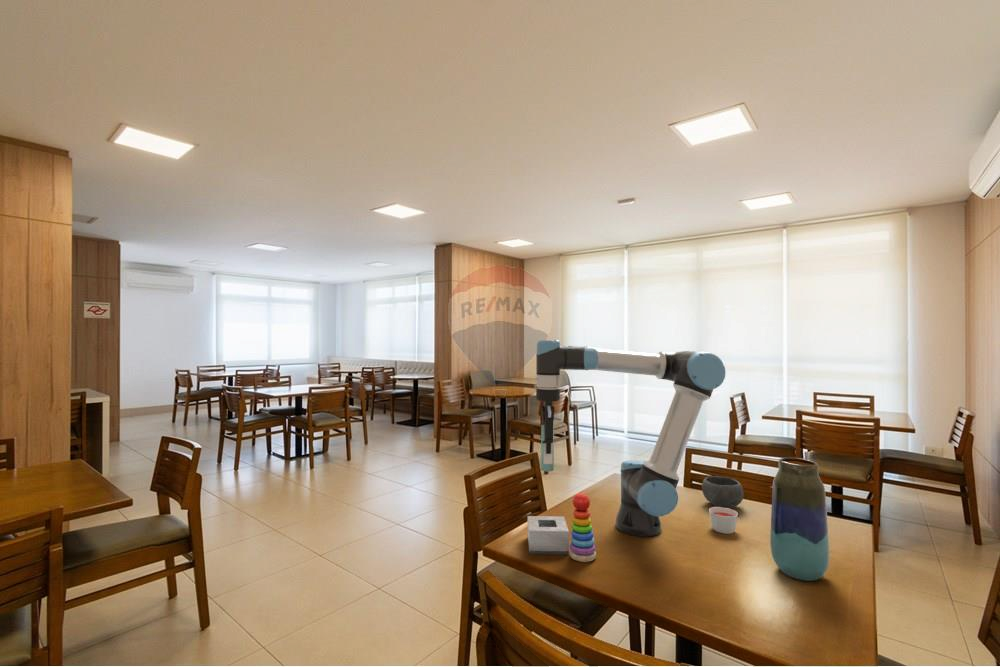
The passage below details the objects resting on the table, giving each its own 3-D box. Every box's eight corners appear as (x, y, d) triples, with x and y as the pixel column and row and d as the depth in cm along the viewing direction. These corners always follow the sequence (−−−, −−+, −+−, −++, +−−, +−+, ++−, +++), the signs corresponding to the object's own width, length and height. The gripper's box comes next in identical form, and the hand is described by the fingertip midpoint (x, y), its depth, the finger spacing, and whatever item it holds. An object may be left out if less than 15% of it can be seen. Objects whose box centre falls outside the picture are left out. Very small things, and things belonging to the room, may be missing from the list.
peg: (540, 467, 147) (540, 424, 148) (552, 468, 147) (553, 424, 148) (541, 471, 143) (541, 426, 144) (554, 471, 143) (554, 426, 144)
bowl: (751, 512, 174) (751, 486, 174) (712, 512, 174) (712, 486, 174) (732, 499, 189) (732, 475, 189) (696, 499, 189) (695, 475, 189)
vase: (832, 592, 118) (830, 470, 119) (769, 577, 125) (768, 463, 126) (827, 570, 130) (826, 459, 130) (771, 557, 137) (770, 453, 138)
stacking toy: (597, 553, 139) (597, 491, 140) (594, 565, 132) (594, 499, 132) (571, 549, 142) (571, 488, 142) (567, 560, 134) (567, 496, 135)
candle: (731, 537, 151) (731, 518, 151) (704, 529, 158) (704, 511, 158) (742, 530, 157) (742, 512, 157) (715, 522, 164) (715, 505, 164)
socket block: (563, 537, 150) (563, 516, 151) (568, 554, 138) (568, 531, 139) (527, 537, 151) (527, 516, 151) (529, 554, 139) (529, 530, 139)
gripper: (534, 385, 154) (534, 455, 154) (537, 390, 137) (537, 468, 137) (556, 385, 154) (556, 455, 154) (562, 391, 137) (562, 469, 137)
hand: (547, 461), depth 145 cm, fingers closed on peg, 4 cm apart
